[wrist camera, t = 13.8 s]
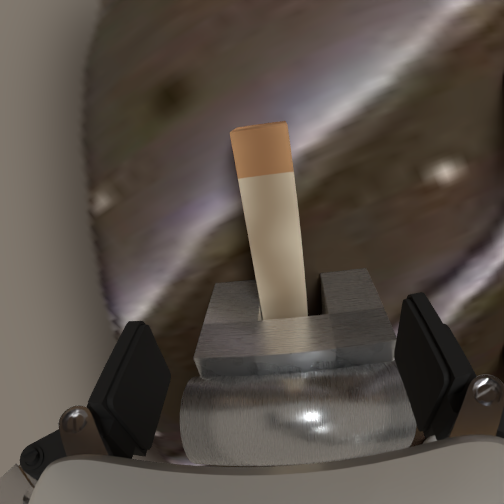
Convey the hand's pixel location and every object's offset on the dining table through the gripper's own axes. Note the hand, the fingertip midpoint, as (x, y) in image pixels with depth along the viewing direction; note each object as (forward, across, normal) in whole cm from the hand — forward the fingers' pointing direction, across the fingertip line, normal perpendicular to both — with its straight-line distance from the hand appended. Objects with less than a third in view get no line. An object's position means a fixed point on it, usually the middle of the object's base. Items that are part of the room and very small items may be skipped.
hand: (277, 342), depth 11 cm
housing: (+14, -1, +9) cm, 17 cm away
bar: (+15, 0, +5) cm, 15 cm away
